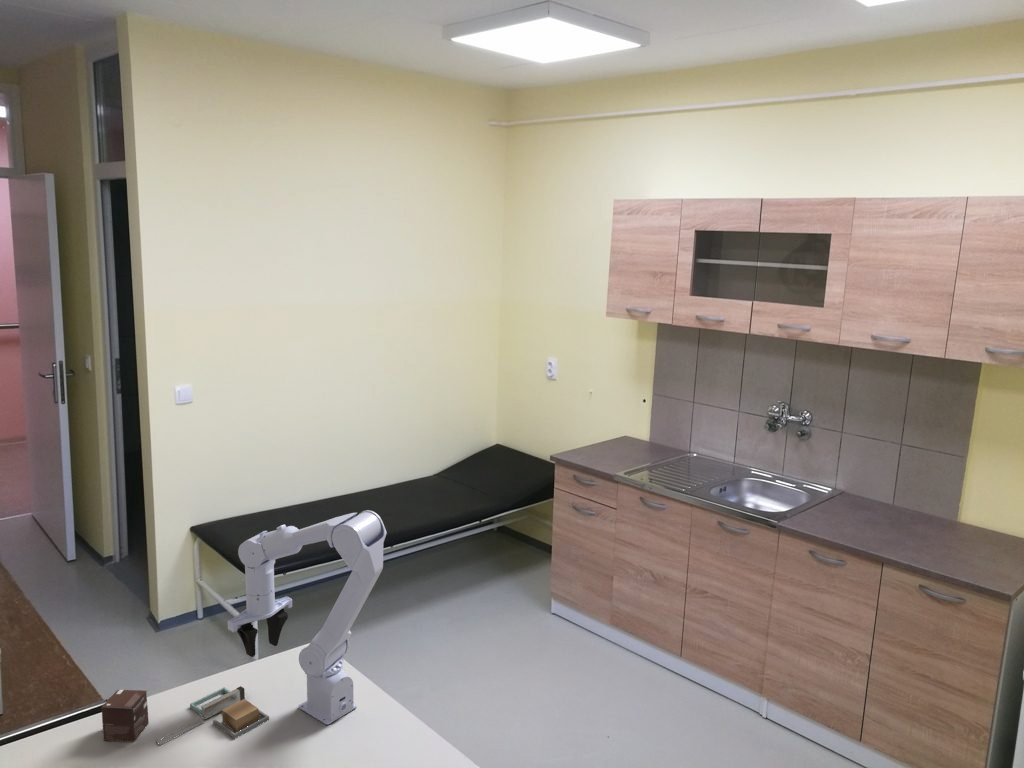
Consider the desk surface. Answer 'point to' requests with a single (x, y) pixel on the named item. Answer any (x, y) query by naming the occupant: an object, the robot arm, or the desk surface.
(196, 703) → the frame
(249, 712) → the plug
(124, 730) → the box
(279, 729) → the desk surface
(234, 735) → the socket
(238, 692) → the bar
